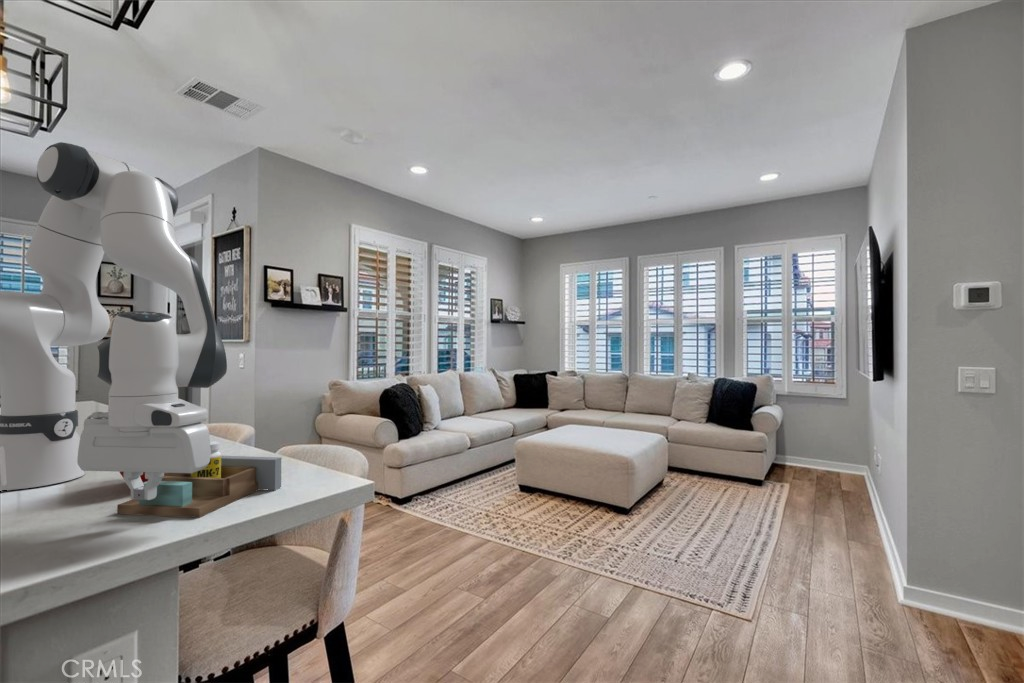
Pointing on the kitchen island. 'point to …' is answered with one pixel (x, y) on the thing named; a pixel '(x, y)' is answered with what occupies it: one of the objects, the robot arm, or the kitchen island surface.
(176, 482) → the divided wooden tray
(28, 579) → the kitchen island surface
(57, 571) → the kitchen island surface
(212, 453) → the supplement bottle
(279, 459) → the board
